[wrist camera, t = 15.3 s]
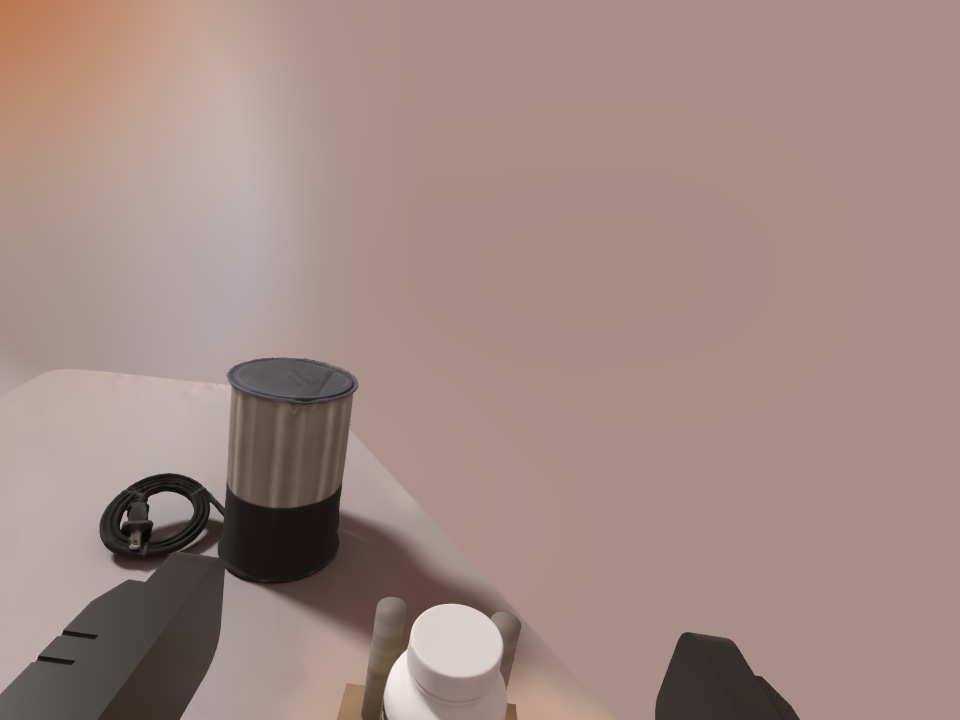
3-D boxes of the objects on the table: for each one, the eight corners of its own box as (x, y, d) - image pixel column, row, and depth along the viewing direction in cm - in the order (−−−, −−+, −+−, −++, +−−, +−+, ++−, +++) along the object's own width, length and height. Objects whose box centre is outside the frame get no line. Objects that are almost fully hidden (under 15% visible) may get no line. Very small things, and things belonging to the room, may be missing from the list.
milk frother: (360, 560, 42) (382, 390, 38) (130, 645, 31) (130, 418, 27) (286, 481, 52) (299, 338, 48) (91, 524, 41) (87, 344, 37)
